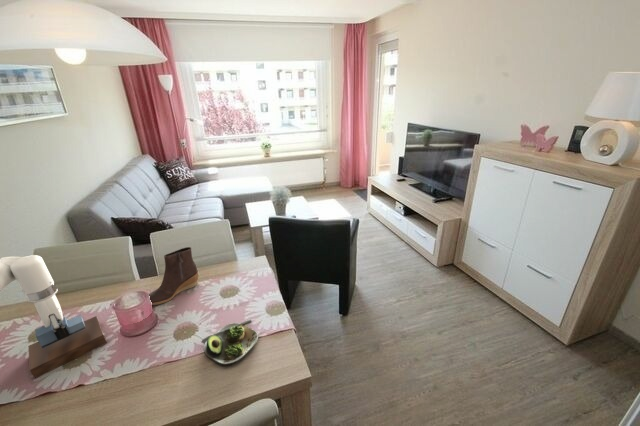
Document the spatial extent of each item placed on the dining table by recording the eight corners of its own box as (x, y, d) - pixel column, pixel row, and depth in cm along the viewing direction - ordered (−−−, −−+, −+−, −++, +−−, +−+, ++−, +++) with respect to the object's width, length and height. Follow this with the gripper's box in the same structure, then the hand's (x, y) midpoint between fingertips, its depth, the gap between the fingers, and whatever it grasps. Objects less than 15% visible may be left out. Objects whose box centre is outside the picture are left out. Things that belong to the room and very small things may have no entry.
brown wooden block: (34, 378, 95) (29, 370, 93) (33, 354, 104) (28, 345, 103) (107, 342, 107) (103, 334, 106) (99, 323, 117) (96, 315, 115)
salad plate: (237, 315, 117) (235, 306, 115) (270, 333, 108) (269, 323, 106) (195, 350, 102) (192, 340, 101) (229, 373, 93) (227, 363, 91)
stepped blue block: (42, 348, 98) (35, 337, 96) (41, 340, 101) (35, 329, 99) (85, 328, 105) (80, 317, 103) (83, 321, 109) (78, 310, 107)
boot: (142, 302, 128) (128, 263, 120) (196, 277, 143) (187, 241, 135) (148, 311, 122) (134, 271, 114) (204, 285, 137) (195, 248, 129)
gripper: (25, 286, 99) (47, 326, 106) (26, 309, 88) (51, 353, 95) (53, 276, 104) (73, 316, 111) (58, 297, 93) (80, 340, 100)
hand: (63, 332), depth 103 cm, fingers closed on stepped blue block, 5 cm apart
